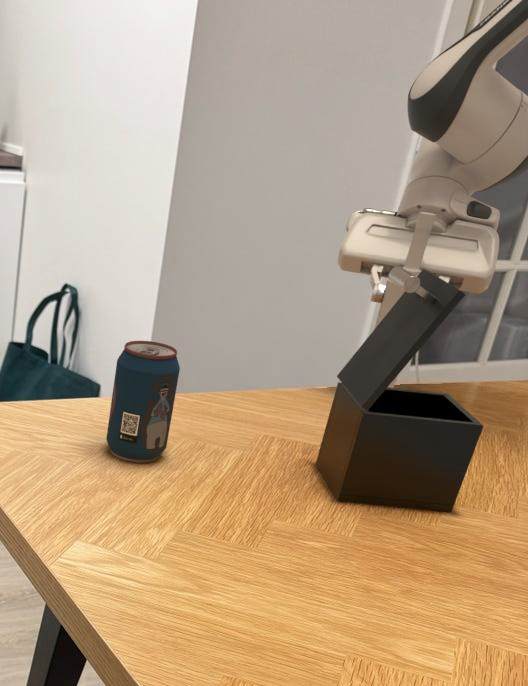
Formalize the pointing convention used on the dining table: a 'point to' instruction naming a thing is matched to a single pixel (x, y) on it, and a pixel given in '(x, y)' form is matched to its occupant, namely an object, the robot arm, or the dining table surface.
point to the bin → (398, 449)
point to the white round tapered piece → (408, 265)
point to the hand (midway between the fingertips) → (400, 304)
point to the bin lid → (399, 334)
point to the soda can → (142, 401)
